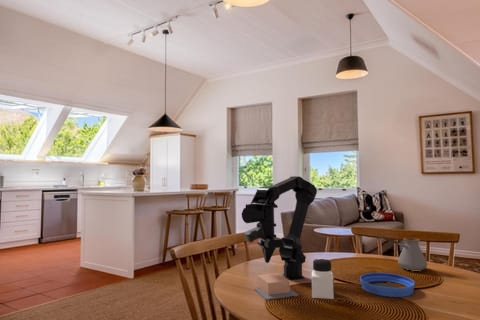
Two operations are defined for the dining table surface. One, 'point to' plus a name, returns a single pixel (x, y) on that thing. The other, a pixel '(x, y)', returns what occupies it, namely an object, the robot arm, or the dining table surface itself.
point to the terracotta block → (273, 283)
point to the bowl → (387, 288)
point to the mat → (276, 296)
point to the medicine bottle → (322, 279)
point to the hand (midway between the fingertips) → (267, 262)
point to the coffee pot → (410, 254)
